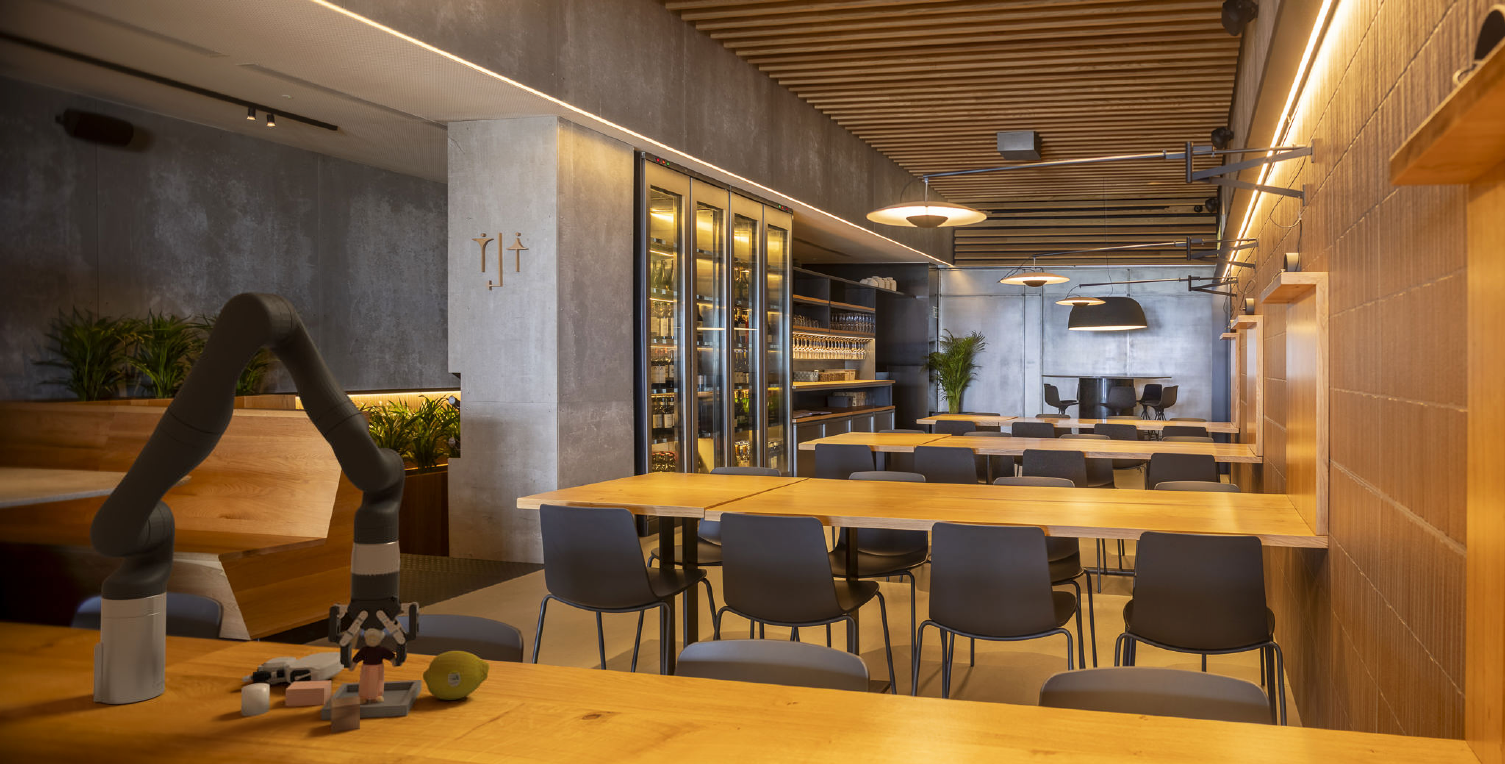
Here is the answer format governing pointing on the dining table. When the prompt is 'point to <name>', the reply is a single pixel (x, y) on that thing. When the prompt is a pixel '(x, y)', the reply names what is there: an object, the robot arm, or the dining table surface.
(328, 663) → the robot toy
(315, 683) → the terracotta block
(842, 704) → the dining table surface
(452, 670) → the lemon
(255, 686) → the white rounded cylinder block
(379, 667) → the grandmother figurine
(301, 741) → the dining table surface
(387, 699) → the tray
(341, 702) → the walnut cube
